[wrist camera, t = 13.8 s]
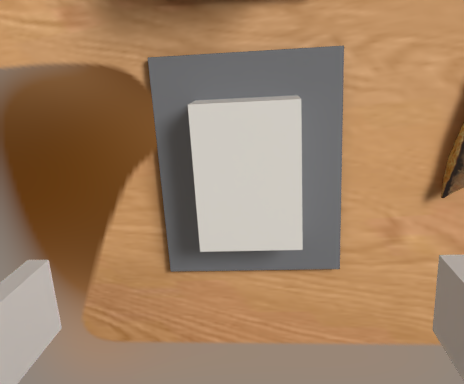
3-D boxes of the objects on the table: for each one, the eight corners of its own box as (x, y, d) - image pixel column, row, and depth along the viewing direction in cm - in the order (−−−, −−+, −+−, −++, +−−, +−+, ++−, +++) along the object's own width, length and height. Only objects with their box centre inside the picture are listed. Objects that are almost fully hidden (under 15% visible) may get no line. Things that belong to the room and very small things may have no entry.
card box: (299, 232, 32) (302, 249, 29) (205, 234, 32) (200, 251, 29) (297, 95, 29) (301, 98, 26) (195, 100, 29) (187, 104, 27)
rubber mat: (149, 57, 29) (147, 57, 29) (342, 45, 28) (343, 45, 28) (172, 267, 34) (170, 271, 33) (338, 265, 33) (339, 268, 32)
